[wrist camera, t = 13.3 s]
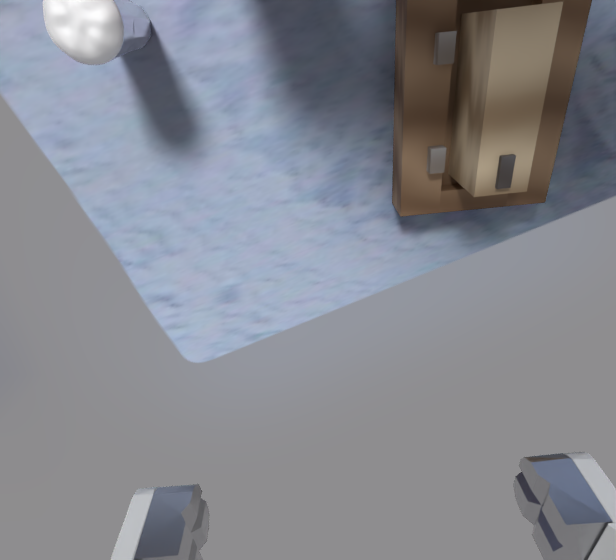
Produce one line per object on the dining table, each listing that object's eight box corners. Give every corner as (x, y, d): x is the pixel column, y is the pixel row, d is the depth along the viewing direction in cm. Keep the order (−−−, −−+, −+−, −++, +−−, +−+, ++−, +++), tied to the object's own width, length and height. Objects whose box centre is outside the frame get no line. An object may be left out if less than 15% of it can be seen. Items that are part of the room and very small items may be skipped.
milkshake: (157, -21, 30) (101, -43, 21) (162, 62, 32) (115, 71, 24) (93, -29, 29) (10, -56, 21) (104, 54, 32) (35, 62, 23)
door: (461, 13, 29) (499, 9, 24) (516, 7, 29) (567, 1, 24) (448, 173, 36) (476, 198, 30) (493, 168, 36) (529, 193, 30)
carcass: (396, -27, 30) (412, -37, 26) (573, -47, 29) (615, -59, 26) (392, 202, 39) (402, 220, 35) (525, 189, 39) (551, 206, 35)
